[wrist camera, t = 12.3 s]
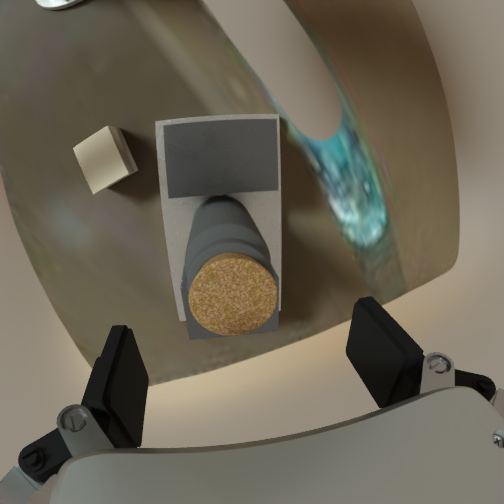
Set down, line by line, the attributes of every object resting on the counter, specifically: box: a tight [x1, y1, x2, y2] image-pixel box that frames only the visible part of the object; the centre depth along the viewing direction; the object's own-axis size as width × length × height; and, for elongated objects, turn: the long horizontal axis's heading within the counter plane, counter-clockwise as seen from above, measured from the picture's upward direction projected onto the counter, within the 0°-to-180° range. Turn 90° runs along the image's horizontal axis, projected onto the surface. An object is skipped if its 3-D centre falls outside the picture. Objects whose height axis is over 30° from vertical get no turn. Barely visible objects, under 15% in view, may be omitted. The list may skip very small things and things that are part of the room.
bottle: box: [185, 196, 278, 336], centre depth 21 cm, size 6×6×15 cm
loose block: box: [73, 126, 138, 194], centre depth 23 cm, size 5×4×4 cm
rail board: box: [155, 114, 281, 340], centre depth 27 cm, size 22×12×6 cm, turn 2°
